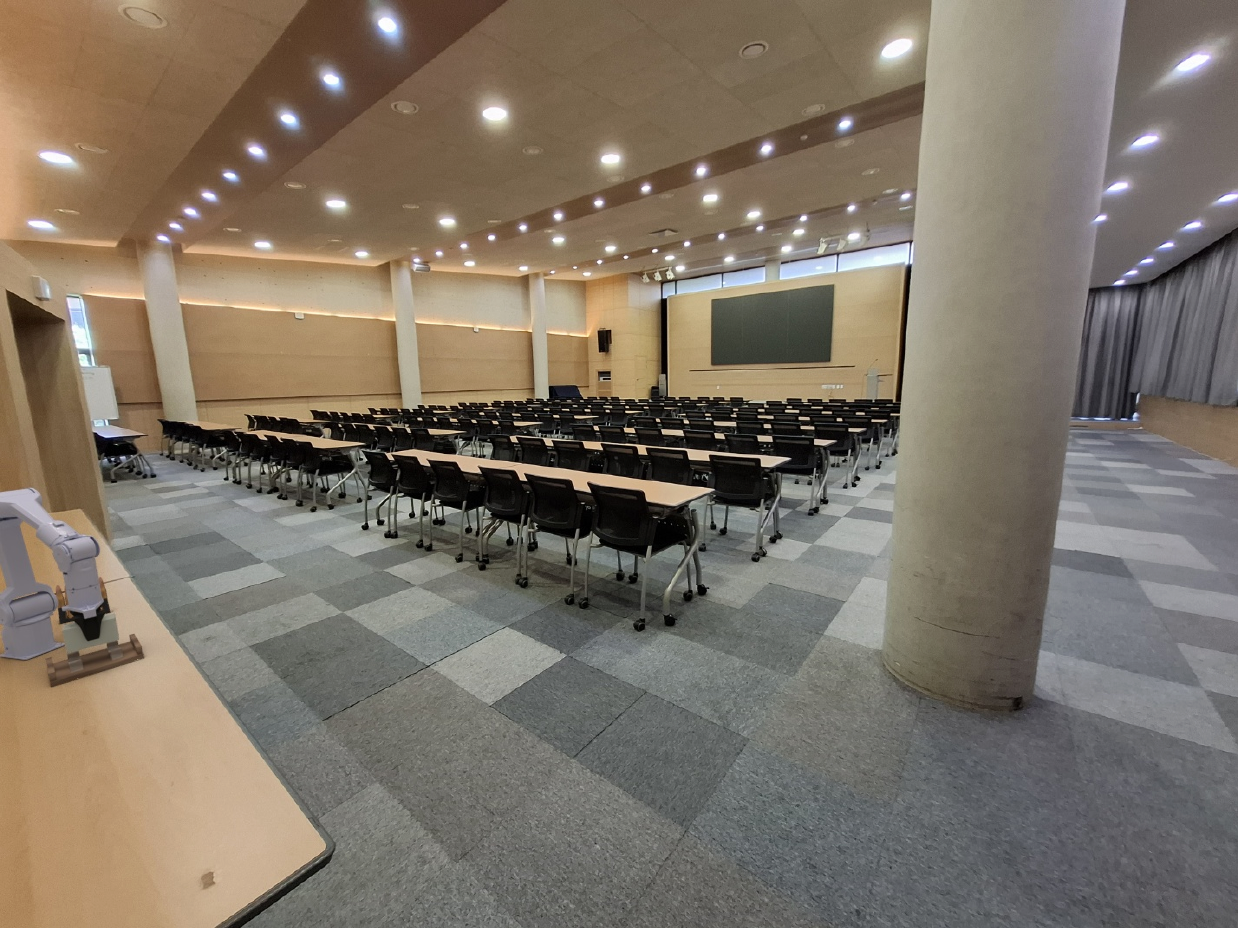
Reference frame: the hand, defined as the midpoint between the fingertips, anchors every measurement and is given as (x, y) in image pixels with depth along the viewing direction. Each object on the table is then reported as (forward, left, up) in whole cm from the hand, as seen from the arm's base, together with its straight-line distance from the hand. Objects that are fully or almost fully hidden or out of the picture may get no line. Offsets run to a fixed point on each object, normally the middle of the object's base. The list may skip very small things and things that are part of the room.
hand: (92, 636), depth 124 cm
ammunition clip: (-36, +20, -8) cm, 42 cm away
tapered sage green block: (0, 0, -2) cm, 2 cm away
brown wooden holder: (0, 0, -8) cm, 8 cm away
